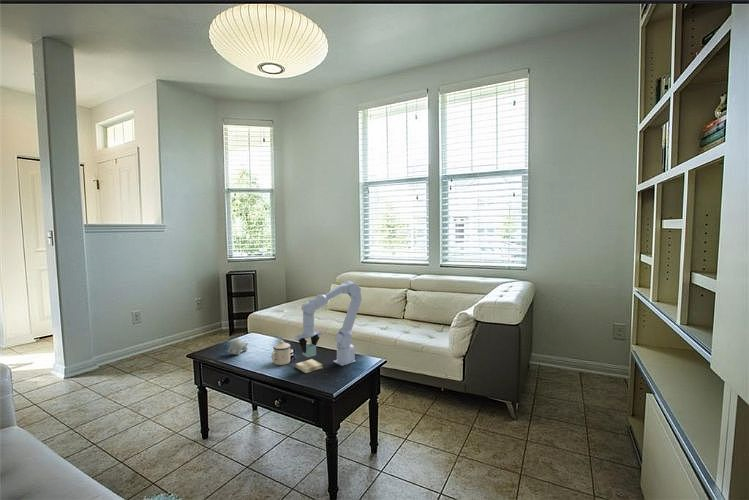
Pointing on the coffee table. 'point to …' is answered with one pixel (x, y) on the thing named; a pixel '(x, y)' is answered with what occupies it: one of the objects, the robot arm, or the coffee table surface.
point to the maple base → (308, 366)
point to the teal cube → (310, 350)
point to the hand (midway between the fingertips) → (308, 351)
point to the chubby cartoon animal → (237, 347)
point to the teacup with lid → (281, 353)
